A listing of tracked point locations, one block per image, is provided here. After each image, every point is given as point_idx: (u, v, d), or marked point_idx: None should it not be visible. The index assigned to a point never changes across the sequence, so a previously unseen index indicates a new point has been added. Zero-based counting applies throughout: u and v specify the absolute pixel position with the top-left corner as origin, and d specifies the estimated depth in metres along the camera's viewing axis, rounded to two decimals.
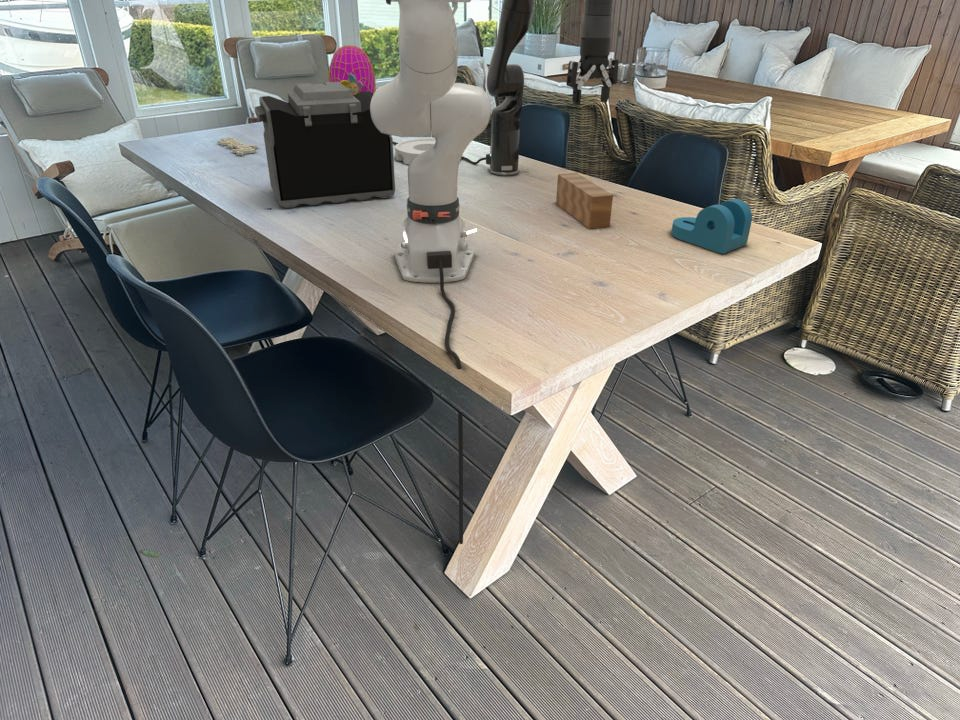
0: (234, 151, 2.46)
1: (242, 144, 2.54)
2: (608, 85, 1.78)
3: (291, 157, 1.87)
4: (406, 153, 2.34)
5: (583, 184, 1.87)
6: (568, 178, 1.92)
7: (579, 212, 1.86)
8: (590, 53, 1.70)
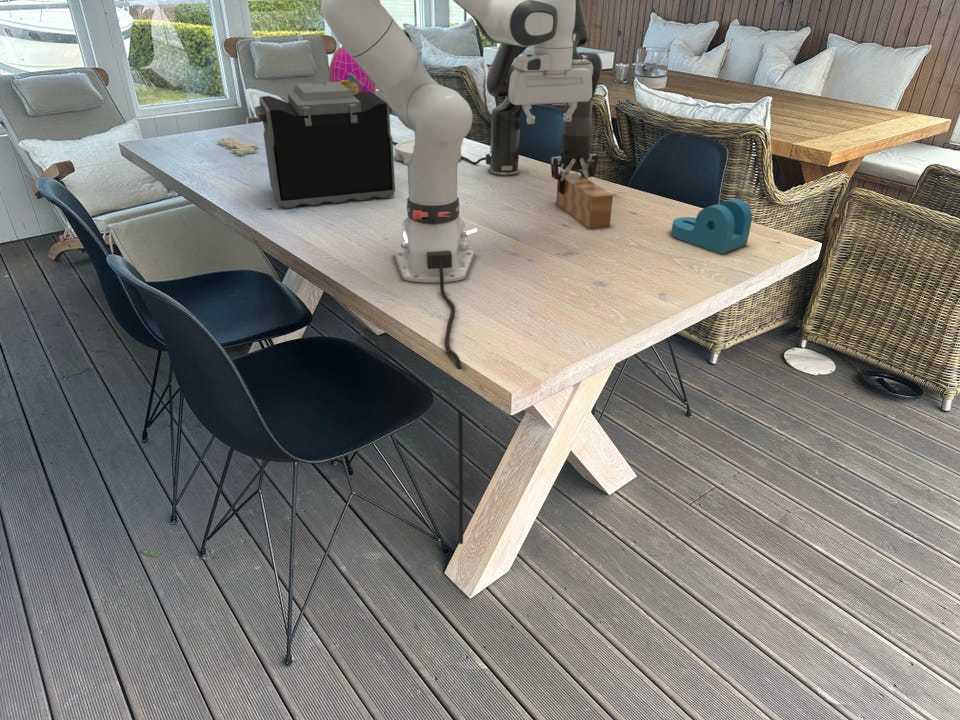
0: (234, 151, 2.46)
1: (242, 144, 2.54)
2: (585, 177, 1.94)
3: (291, 157, 1.87)
4: (406, 153, 2.34)
5: (583, 184, 1.87)
6: (568, 178, 1.92)
7: (579, 212, 1.86)
8: (569, 149, 1.87)
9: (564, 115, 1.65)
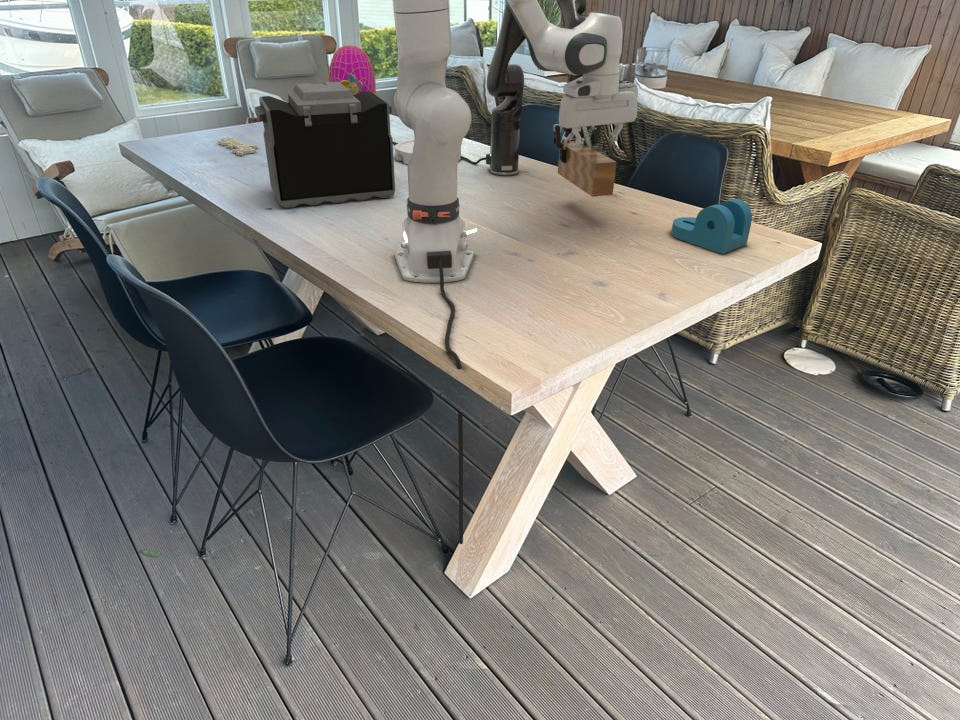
0: (234, 151, 2.46)
1: (242, 144, 2.54)
2: (588, 146, 1.90)
3: (291, 157, 1.87)
4: (406, 153, 2.34)
5: (585, 152, 1.83)
6: (571, 147, 1.88)
7: (582, 181, 1.82)
8: None
9: (611, 135, 1.75)
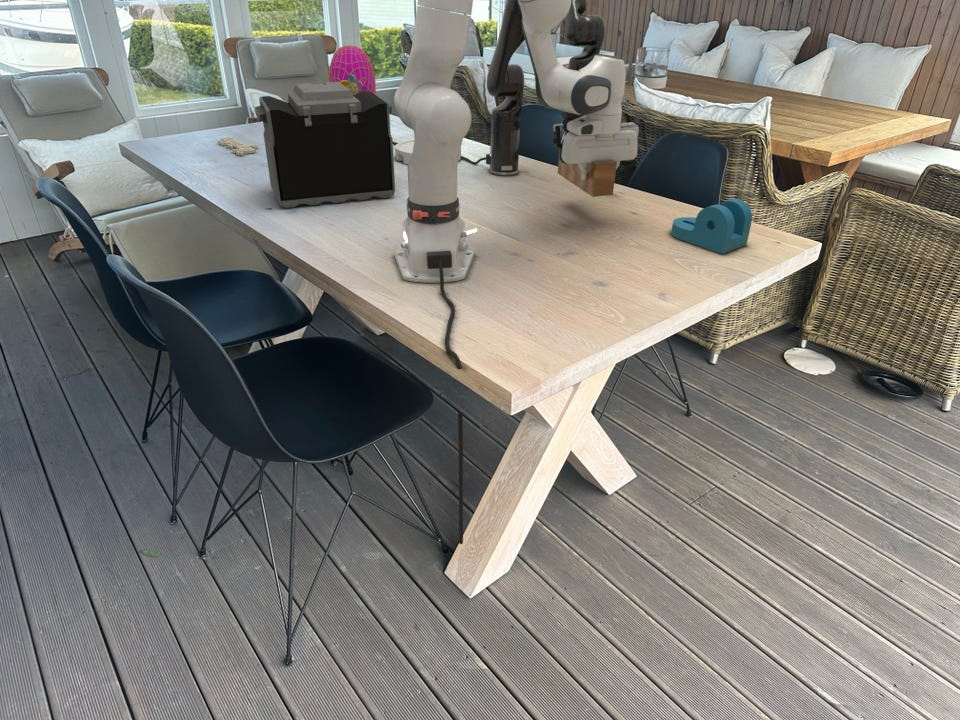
0: (234, 151, 2.46)
1: (242, 144, 2.54)
2: None
3: (291, 157, 1.87)
4: (406, 153, 2.34)
5: None
6: None
7: (582, 181, 1.82)
8: (571, 115, 1.83)
9: None
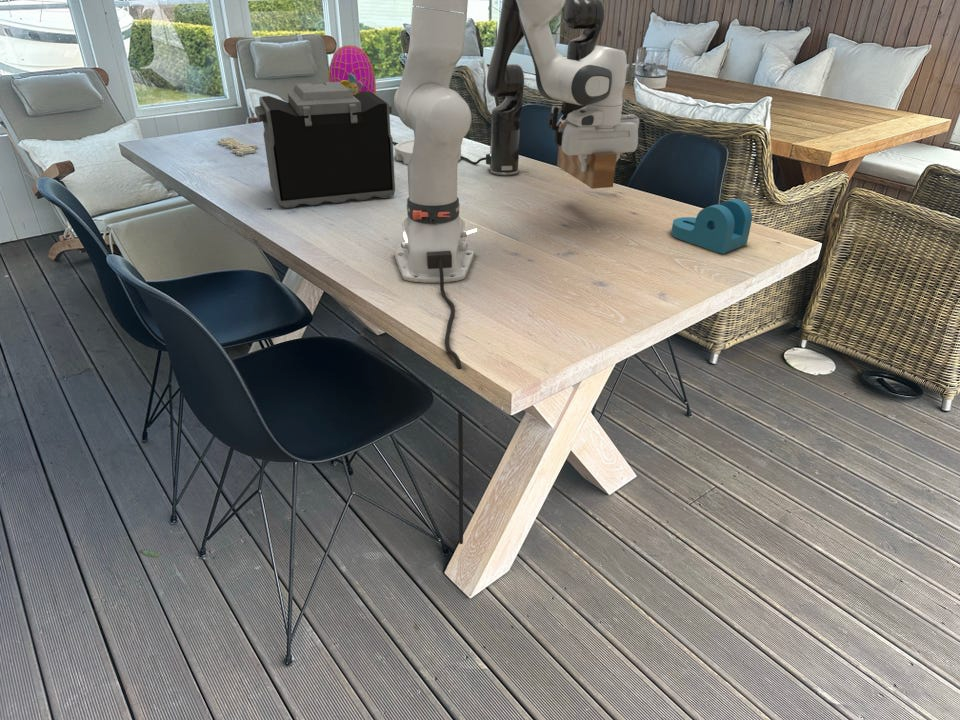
0: (234, 151, 2.46)
1: (242, 144, 2.54)
2: None
3: (291, 157, 1.87)
4: (406, 153, 2.34)
5: None
6: None
7: (582, 173, 1.81)
8: None
9: None
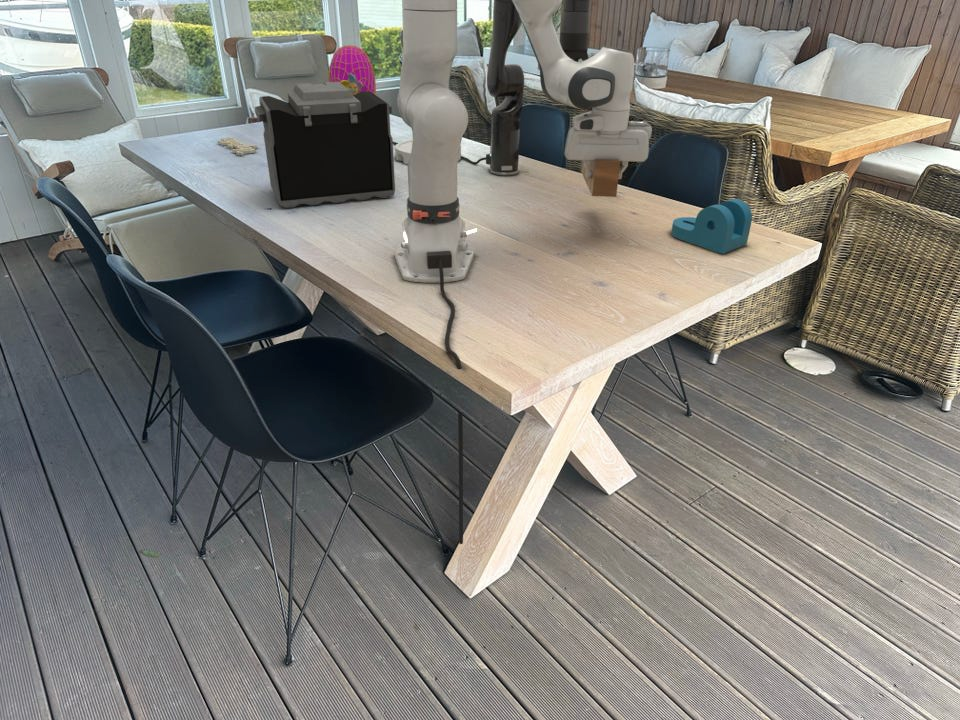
0: (234, 151, 2.46)
1: (242, 144, 2.54)
2: None
3: (291, 157, 1.87)
4: (406, 153, 2.34)
5: None
6: None
7: (589, 179, 1.74)
8: (567, 47, 1.79)
9: None
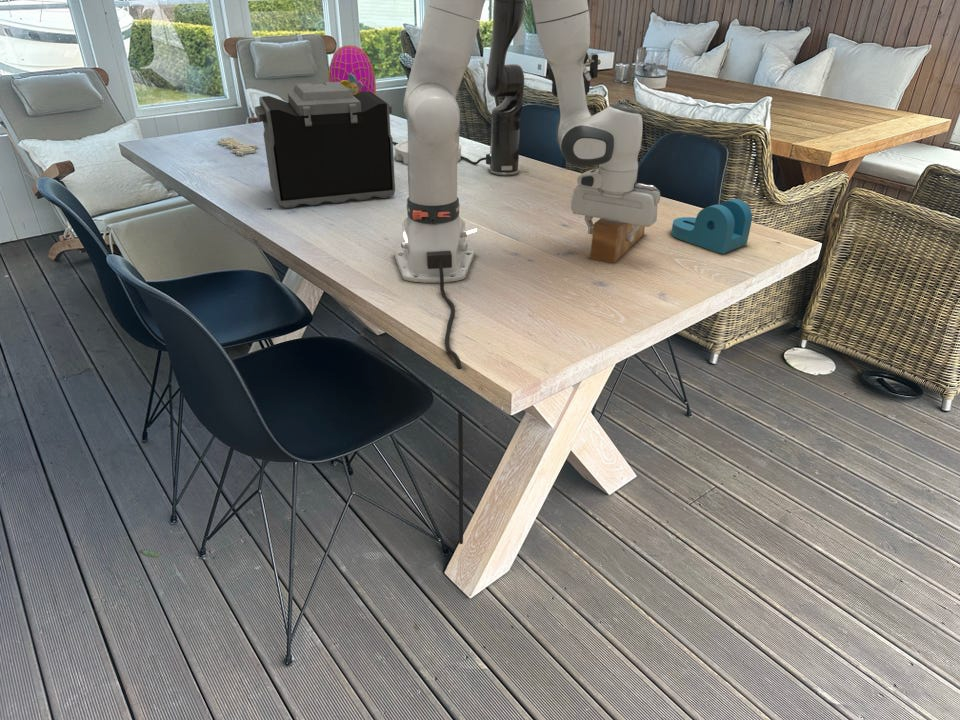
0: (234, 151, 2.46)
1: (242, 144, 2.54)
2: (588, 79, 1.86)
3: (291, 157, 1.87)
4: (406, 153, 2.34)
5: None
6: None
7: None
8: None
9: None
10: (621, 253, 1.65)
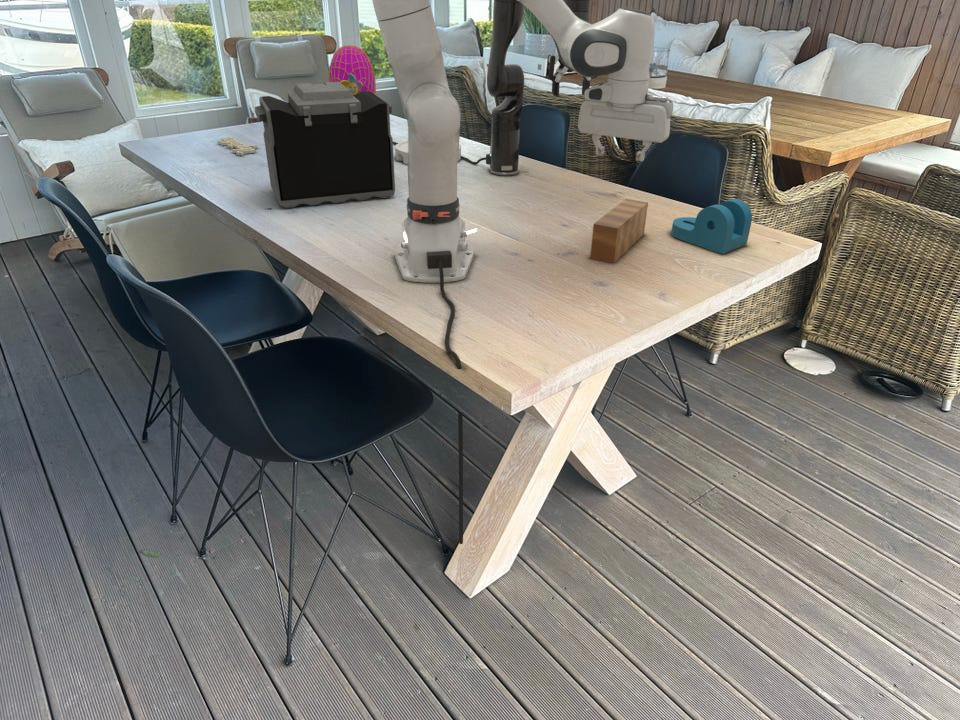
0: (234, 151, 2.46)
1: (242, 144, 2.54)
2: (588, 79, 1.86)
3: (291, 157, 1.87)
4: (406, 153, 2.34)
5: (618, 213, 1.67)
6: (622, 204, 1.73)
7: None
8: None
9: None
10: (621, 253, 1.65)
